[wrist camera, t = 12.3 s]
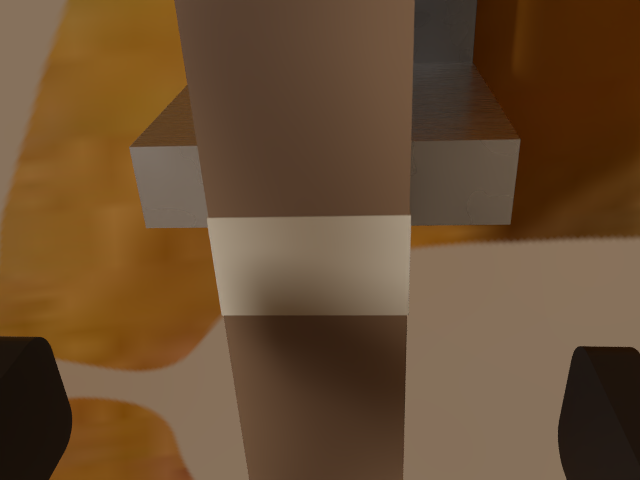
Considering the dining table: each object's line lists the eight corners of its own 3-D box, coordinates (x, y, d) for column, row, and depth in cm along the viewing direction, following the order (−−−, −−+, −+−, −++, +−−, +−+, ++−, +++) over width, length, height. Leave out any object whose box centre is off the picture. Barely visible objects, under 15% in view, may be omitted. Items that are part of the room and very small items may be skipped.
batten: (408, -317, 11) (427, -414, 8) (396, 452, 21) (401, 566, 17) (189, -299, 12) (112, -383, 8) (278, 450, 21) (260, 561, 18)
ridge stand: (472, -59, 22) (540, -27, 13) (455, 193, 27) (496, 337, 18) (199, -47, 23) (96, -9, 14) (230, 196, 28) (168, 335, 19)
